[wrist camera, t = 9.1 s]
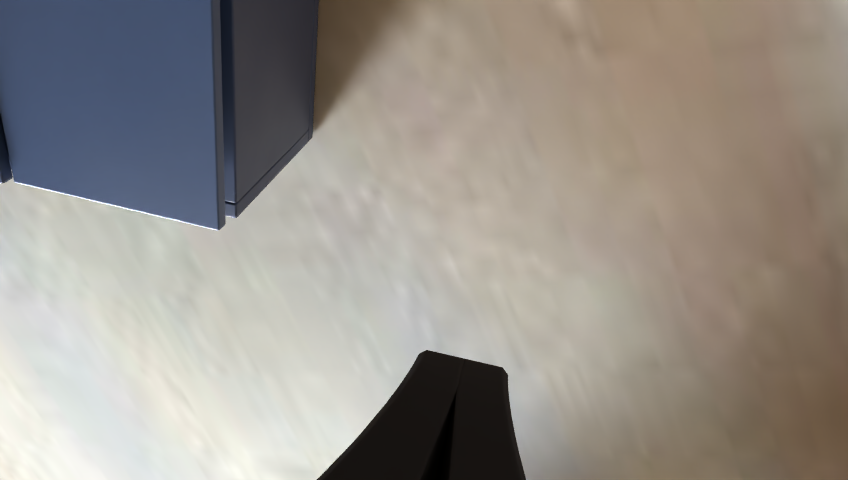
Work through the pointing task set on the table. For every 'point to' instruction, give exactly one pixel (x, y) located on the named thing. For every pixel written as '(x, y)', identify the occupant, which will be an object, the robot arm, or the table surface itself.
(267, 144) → the carton
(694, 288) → the table surface
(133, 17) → the flap
